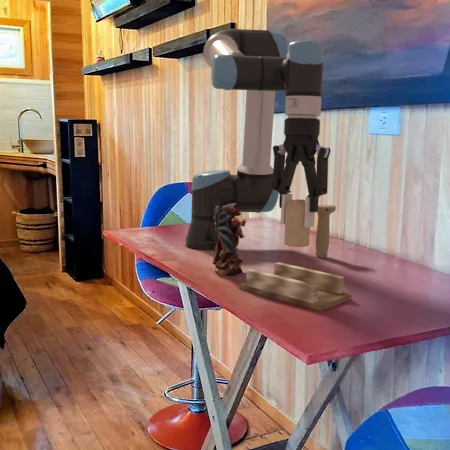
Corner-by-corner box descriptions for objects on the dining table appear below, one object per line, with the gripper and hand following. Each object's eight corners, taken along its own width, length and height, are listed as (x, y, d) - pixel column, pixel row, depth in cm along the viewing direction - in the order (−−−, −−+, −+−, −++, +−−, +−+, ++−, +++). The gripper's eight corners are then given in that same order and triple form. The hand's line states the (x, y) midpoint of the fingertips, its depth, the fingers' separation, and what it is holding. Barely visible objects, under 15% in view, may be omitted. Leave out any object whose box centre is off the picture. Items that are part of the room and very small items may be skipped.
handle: (334, 258, 163) (338, 207, 160) (313, 259, 162) (316, 207, 159) (329, 255, 167) (332, 204, 165) (308, 255, 166) (310, 204, 164)
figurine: (258, 269, 147) (256, 200, 144) (246, 278, 138) (244, 205, 136) (220, 267, 151) (217, 200, 148) (206, 275, 143) (203, 204, 140)
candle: (303, 248, 121) (305, 202, 119) (279, 245, 124) (281, 199, 122) (312, 244, 126) (315, 199, 124) (290, 241, 128) (292, 197, 127)
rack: (239, 288, 129) (240, 268, 129) (271, 279, 138) (272, 260, 137) (320, 311, 115) (321, 288, 114) (351, 299, 123) (352, 278, 123)
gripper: (257, 116, 123) (253, 221, 127) (330, 116, 111) (323, 232, 115) (278, 117, 129) (274, 218, 133) (350, 118, 117) (343, 228, 120)
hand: (297, 224), depth 124 cm, fingers closed on candle, 5 cm apart
